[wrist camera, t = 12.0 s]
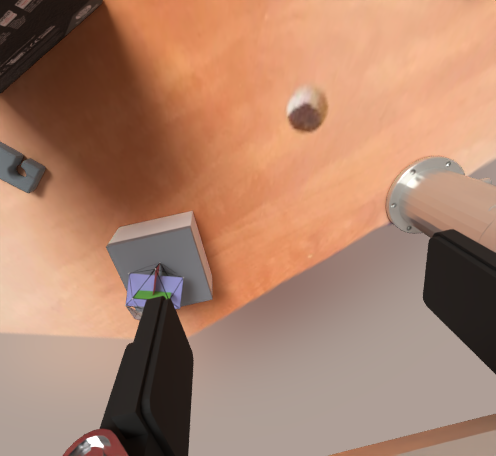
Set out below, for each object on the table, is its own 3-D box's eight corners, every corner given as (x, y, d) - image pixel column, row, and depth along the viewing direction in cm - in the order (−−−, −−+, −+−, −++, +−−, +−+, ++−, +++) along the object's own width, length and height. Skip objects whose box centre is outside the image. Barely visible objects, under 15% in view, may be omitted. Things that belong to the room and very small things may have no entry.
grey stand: (192, 210, 43) (190, 228, 37) (212, 275, 48) (212, 299, 43) (118, 227, 42) (105, 246, 37) (146, 290, 48) (139, 316, 42)
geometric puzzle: (129, 248, 35) (113, 316, 31) (186, 254, 36) (178, 319, 33) (136, 268, 41) (124, 327, 38) (185, 272, 43) (178, 329, 39)
